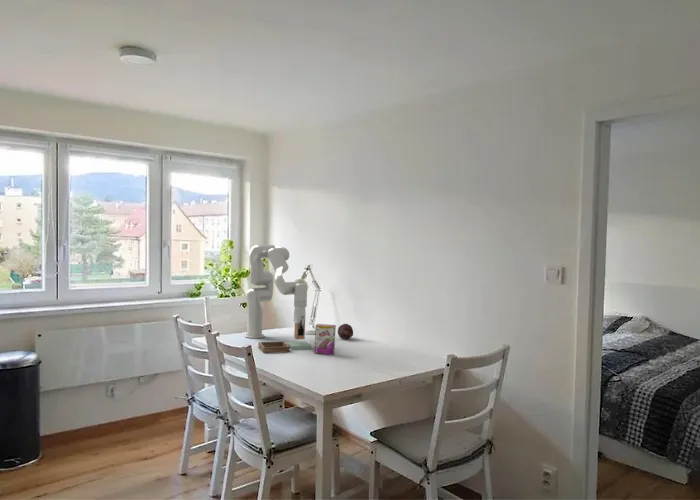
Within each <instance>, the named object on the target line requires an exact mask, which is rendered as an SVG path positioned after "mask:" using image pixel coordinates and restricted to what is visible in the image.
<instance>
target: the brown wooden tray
mask: <svg viewBox="0 0 700 500" xmlns="http://www.w3.org/2000/svg"><path fill="white" fill-rule="evenodd" d="M257 346H258V349H259V350H260V352H262V354H270V353H271V354H272V353H273V354H275V353H291V352H290V351H291V349H290V346H288V345H287V342H285V341H259V342H258V345H257Z"/></svg>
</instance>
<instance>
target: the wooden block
mask: <svg viewBox="0 0 700 500" xmlns="http://www.w3.org/2000/svg"><path fill="white" fill-rule="evenodd" d="M298 329H299V323H298V324H297V323H295V322H294V336H293V338H294V339H295V340H305V339H306V337H305V336H306V335H305V334H306V322H305V323H304V335H303V336H298Z"/></svg>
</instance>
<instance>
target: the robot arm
mask: <svg viewBox="0 0 700 500" xmlns="http://www.w3.org/2000/svg"><path fill="white" fill-rule="evenodd" d="M248 257H249V283H250V284H251V286H259V287H252V288H250V289H248V290H247V292H246V300H247V321H246V322H247V327H246V328H247V329H246V330H247V331H246V333H245V334H244V337H245V338H248V339H262V338H264V337H265V334H264V333H263V317H264V316H263V313H264V311H263V309H264V308H263V306H262V304H261V303H266V302H270V301H271V300H272V299H273V294H274V285H275V286H276V288H277V290H278V292H279V293H280V294H281V295H283V296H290V295H293V296H294V297H293V299H294V301H293V307H294V312H293V322H294V324H295V323H297V324H298V323H299V329H298V336H303V335H304V323H305V324H306V307H308V305H307V304H308V285H307V283H304V282H298V281H287V282H286V281H285V279H284V278H283V277H284V276H283V274H285V273H286V272H287V271H288V270H289V267H290V266H289V264H288V263H287V260H289V258H290V251H289V250H288V249H287V248H286V247H282V246H280V245H274V244H255V245H253V246H252V247H251V248H250V250H249V254H248ZM262 259H269V262H270V263H271V265H272V267H273V269H274V272H275V274H274V275H273V273H272V272H271V271H269V270H264V262H263V260H262ZM260 286H261V287H260Z"/></svg>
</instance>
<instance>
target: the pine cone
mask: <svg viewBox="0 0 700 500" xmlns="http://www.w3.org/2000/svg"><path fill="white" fill-rule="evenodd" d="M336 332H337V335H338V338H340V339H342V340H345V339H346V340H349V339H351V338H352V337H353V336H354V329H353V327H352V325H350V324H348V323H343V324H341V325H339V327H338V328H337V331H336Z"/></svg>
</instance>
